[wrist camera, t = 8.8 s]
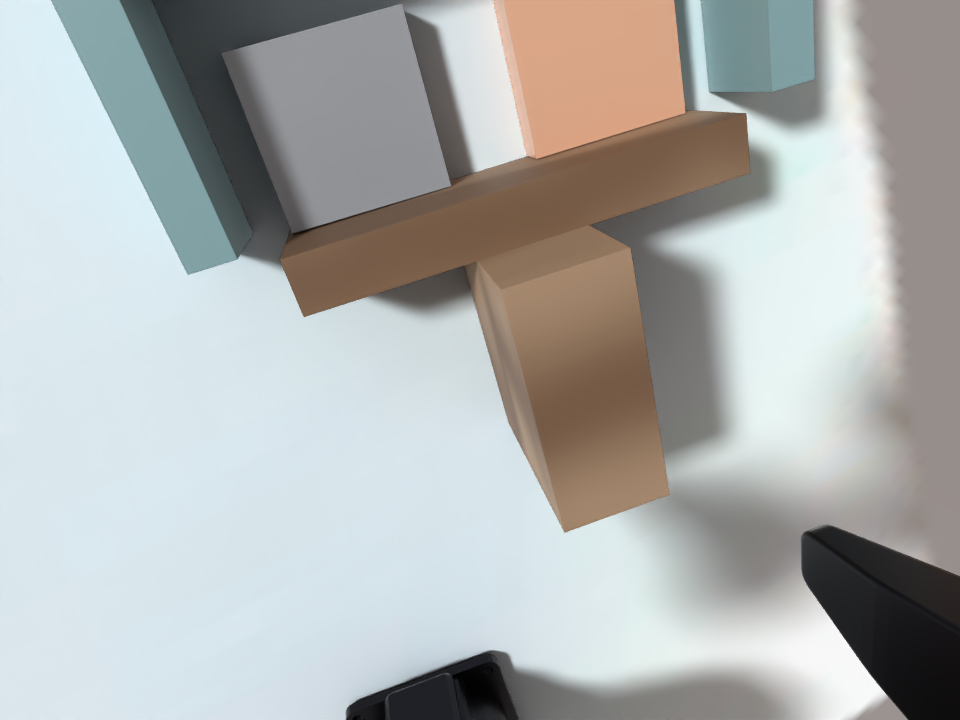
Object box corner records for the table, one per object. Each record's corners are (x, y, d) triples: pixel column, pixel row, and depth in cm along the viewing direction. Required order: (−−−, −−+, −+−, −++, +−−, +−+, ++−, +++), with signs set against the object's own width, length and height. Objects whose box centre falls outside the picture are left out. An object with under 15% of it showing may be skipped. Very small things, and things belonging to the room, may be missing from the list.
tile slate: (443, 179, 18) (450, 185, 17) (296, 223, 18) (292, 233, 17) (397, 10, 16) (401, 3, 15) (231, 56, 16) (221, 53, 15)
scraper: (704, 354, 22) (821, 439, 17) (386, 465, 21) (401, 591, 16) (677, 109, 19) (815, 117, 13) (290, 229, 18) (268, 290, 12)
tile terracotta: (660, 111, 19) (685, 113, 18) (522, 153, 19) (536, 158, 17) (640, -60, 17) (666, -73, 16) (485, -16, 17) (498, -25, 15)
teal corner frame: (745, 80, 19) (814, 78, 16) (211, 246, 17) (187, 274, 15) (726, -226, 15) (807, -292, 13) (72, -51, 14) (9, -83, 12)
